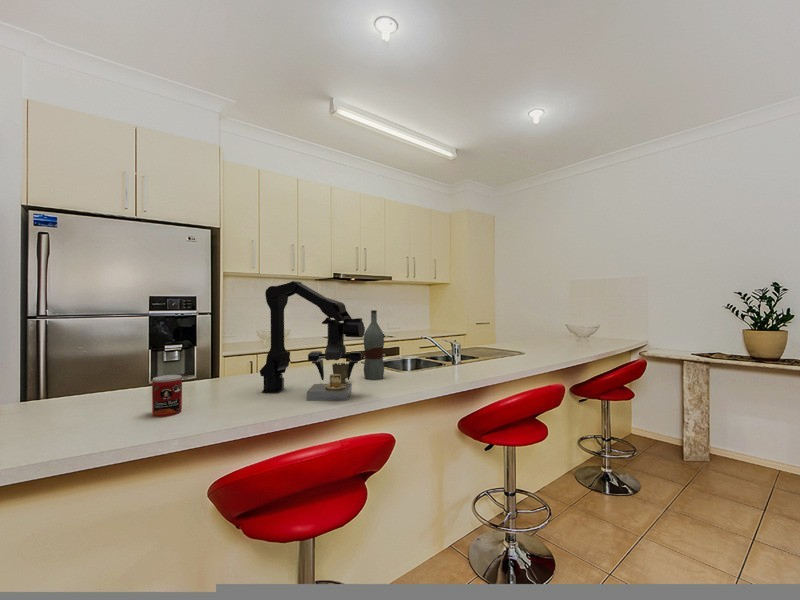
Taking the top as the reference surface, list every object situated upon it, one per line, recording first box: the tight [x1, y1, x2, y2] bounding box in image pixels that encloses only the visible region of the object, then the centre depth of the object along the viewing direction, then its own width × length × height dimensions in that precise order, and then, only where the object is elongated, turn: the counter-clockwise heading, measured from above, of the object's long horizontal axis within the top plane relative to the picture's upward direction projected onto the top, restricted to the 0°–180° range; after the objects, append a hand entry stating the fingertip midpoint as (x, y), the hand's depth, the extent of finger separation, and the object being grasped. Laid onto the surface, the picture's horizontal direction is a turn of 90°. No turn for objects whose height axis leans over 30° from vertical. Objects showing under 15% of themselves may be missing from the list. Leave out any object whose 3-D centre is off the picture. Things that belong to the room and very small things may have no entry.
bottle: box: [363, 309, 385, 381], centre depth 165 cm, size 9×9×30 cm
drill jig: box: [306, 383, 353, 401], centre depth 134 cm, size 14×12×3 cm
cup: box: [331, 362, 349, 384], centre depth 155 cm, size 8×7×8 cm
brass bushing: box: [325, 373, 346, 390], centre depth 134 cm, size 7×7×7 cm
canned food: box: [151, 374, 183, 418], centre depth 114 cm, size 8×8×11 cm
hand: (335, 380), depth 134 cm, fingers open, 9 cm apart
